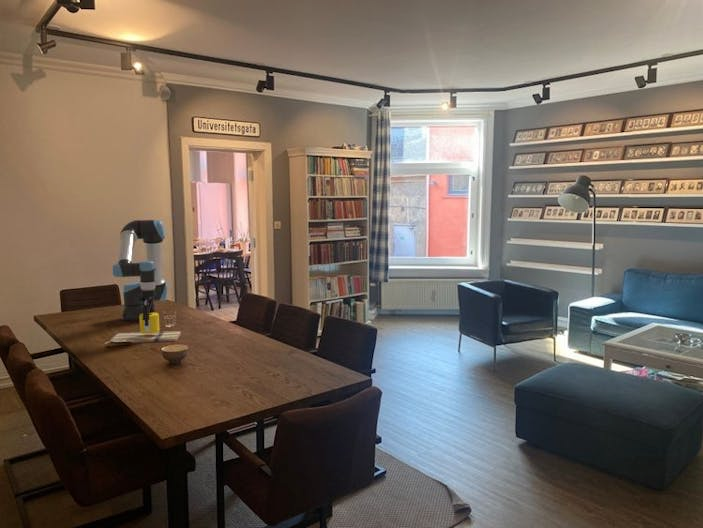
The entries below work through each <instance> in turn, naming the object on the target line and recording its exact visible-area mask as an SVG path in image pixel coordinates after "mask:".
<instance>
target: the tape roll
mask: <svg viewBox="0 0 703 528" xmlns="http://www.w3.org/2000/svg"><path fill="white" fill-rule="evenodd" d="M142 319H143V314H140V315H139V320H138V321H139V332H140V333H145V334H148V333H156V332H160V314H159V313H158V312H155V313H149V319H150V331H149V332H145V329H144V320H142Z"/></svg>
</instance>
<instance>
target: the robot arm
mask: <svg viewBox="0 0 703 528" xmlns="http://www.w3.org/2000/svg"><path fill="white" fill-rule="evenodd" d="M119 239H120V247H119V252H118V253H119V254H118V259H117V263H113V265H112V275H113V277H115V278H130V277H139V279H140V281H133V282H128V283H126V284H124V285H123V289H122V291H123V292H122V294H123V310H122V313H121V321H127V322H136V321H140V320H139V315H140V314H143V319H142V320H144V329H145V332H149V331H150V319H149V313H156V310H155V309H156V308H155V302H164V301H166V300H167V293H168V282H166V280H165V278H163V265H162V247H161V246H162V245H161V244H162V243H163V241H164V239H166V233H165V228H164V224H163V221H162V220H159V219H141V220H140V219H135V220H132V221H129V222H127V224H125V225H124V226H123V227H122V229H121V231H120V234H119ZM137 240H142V243H144V244H145V249H146V250H145V251H146V260H141V261H140V262H134V254H135V253H134V251H135V245H136V242H137Z"/></svg>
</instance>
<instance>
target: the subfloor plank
mask: <svg viewBox="0 0 703 528" xmlns="http://www.w3.org/2000/svg"><path fill="white" fill-rule="evenodd" d="M181 334H182V331H181V330H178V331H177V330H174V331H165V330H164V331H163V330H162V331H160V330H159V331H158V332H156V333H148V334H145V333H140V331H139V332H136V331H135V332H117V334H115V335H114V336H113V337H112V338H111V339H110V340H109V343H110V342H113V341H123V340H128V341H131V342H132V343H134V344H135V343H158V342H161V343H162V342H164V343H165V342H176V341H177V340H178V338H179V337H180V336H181Z"/></svg>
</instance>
